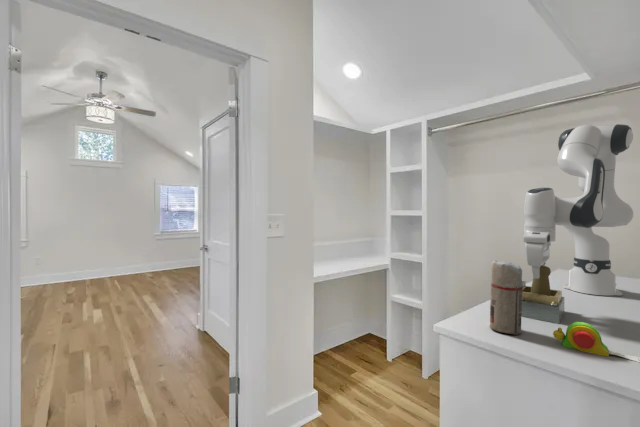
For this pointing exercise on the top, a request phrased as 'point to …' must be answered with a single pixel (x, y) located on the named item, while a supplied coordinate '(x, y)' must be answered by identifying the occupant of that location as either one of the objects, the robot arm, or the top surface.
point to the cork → (542, 282)
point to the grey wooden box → (542, 305)
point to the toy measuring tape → (586, 340)
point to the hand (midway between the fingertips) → (538, 275)
